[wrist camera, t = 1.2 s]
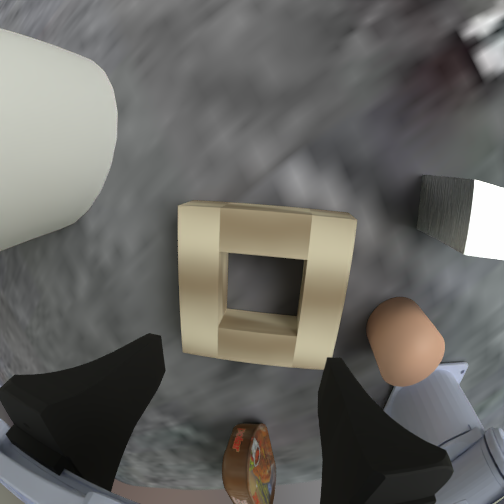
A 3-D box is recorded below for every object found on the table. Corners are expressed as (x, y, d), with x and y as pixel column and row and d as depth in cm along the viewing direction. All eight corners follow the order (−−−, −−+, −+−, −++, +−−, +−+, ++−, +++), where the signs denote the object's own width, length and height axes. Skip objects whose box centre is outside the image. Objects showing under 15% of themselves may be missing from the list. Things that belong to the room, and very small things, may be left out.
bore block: (325, 347, 23) (328, 369, 20) (194, 332, 24) (182, 352, 21) (348, 212, 19) (357, 220, 17) (193, 200, 21) (178, 205, 18)
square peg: (457, 234, 19) (509, 260, 12) (416, 228, 19) (463, 254, 12) (463, 184, 17) (520, 193, 11) (422, 174, 18) (474, 179, 11)
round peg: (411, 349, 22) (430, 384, 17) (359, 348, 22) (371, 387, 17) (427, 298, 20) (454, 328, 16) (373, 294, 21) (392, 327, 16)
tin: (278, 477, 29) (272, 528, 21) (254, 476, 30) (245, 527, 22) (263, 406, 25) (251, 476, 17) (231, 406, 26) (212, 473, 18)
